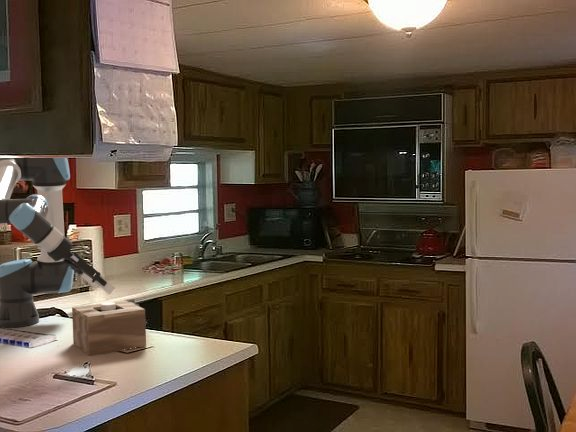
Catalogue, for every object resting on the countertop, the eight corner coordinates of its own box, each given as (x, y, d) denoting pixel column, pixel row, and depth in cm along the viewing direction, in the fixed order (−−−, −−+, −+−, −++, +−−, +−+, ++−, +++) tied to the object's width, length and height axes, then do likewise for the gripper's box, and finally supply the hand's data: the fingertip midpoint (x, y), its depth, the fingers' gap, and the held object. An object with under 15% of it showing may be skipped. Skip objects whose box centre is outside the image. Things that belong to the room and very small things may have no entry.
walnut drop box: (73, 343, 224) (72, 307, 223) (127, 335, 233) (125, 300, 232) (89, 355, 208) (88, 316, 208) (146, 346, 218) (145, 309, 217)
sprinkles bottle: (102, 343, 223) (101, 302, 222) (116, 342, 224) (115, 301, 223) (101, 346, 219) (100, 305, 218) (116, 345, 220) (115, 304, 219)
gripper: (36, 250, 219) (85, 291, 228) (57, 257, 198) (109, 303, 207) (53, 232, 222) (100, 274, 231) (75, 238, 201) (126, 284, 210)
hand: (105, 288), depth 219 cm, fingers open, 13 cm apart
